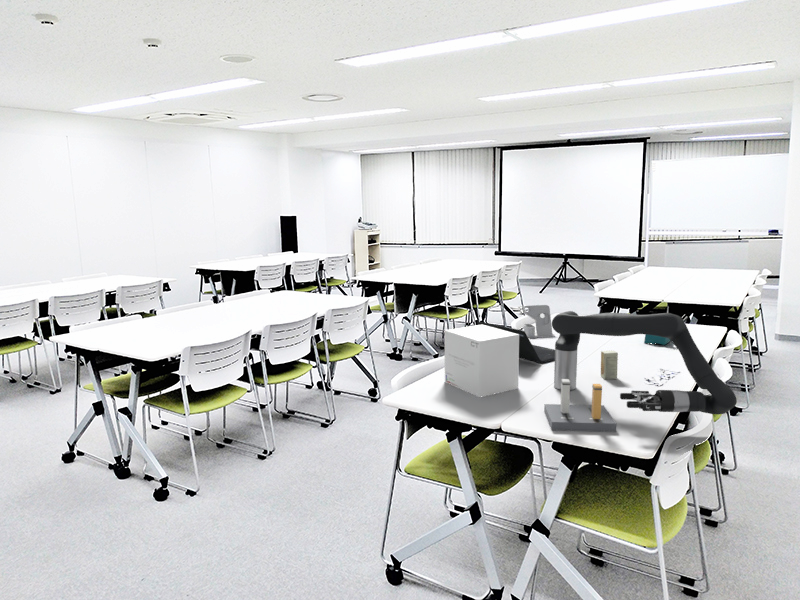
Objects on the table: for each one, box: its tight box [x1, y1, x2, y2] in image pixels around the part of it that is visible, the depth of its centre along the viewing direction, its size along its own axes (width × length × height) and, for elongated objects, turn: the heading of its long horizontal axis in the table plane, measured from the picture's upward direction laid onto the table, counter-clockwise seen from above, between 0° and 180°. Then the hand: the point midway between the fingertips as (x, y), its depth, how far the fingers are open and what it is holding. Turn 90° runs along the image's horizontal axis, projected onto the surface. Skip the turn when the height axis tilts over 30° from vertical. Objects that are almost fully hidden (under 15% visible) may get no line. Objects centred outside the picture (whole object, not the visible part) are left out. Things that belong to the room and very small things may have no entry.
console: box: [543, 403, 617, 433], centre depth 204 cm, size 18×22×3 cm
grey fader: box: [560, 379, 571, 413], centre depth 204 cm, size 3×3×12 cm
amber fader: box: [591, 383, 603, 419], centre depth 198 cm, size 3×3×12 cm
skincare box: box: [600, 350, 619, 380], centre depth 254 cm, size 6×4×12 cm
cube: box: [444, 324, 520, 398], centre depth 246 cm, size 25×21×24 cm
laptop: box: [476, 320, 555, 364], centre depth 293 cm, size 33×38×19 cm
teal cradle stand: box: [643, 334, 672, 346], centre depth 317 cm, size 18×11×10 cm, turn 141°
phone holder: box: [522, 304, 556, 339], centre depth 337 cm, size 17×10×18 cm, turn 97°
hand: (623, 400), depth 196 cm, fingers open, 8 cm apart
